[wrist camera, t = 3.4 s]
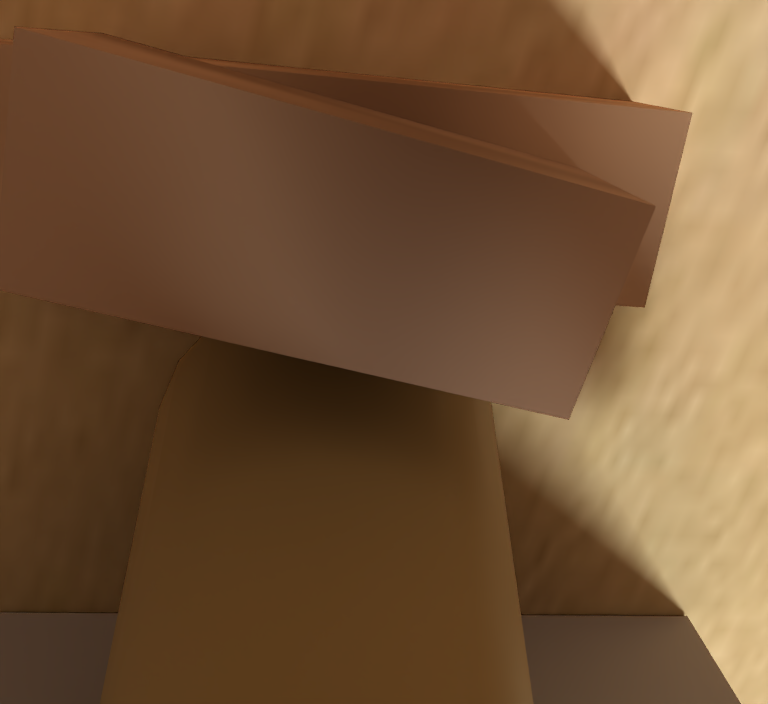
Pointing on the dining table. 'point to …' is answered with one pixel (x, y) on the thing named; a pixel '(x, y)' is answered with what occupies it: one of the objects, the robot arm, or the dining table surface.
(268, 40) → the dining table surface
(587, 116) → the offcut low
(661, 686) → the board
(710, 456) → the dining table surface
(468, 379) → the offcut top
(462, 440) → the cork
